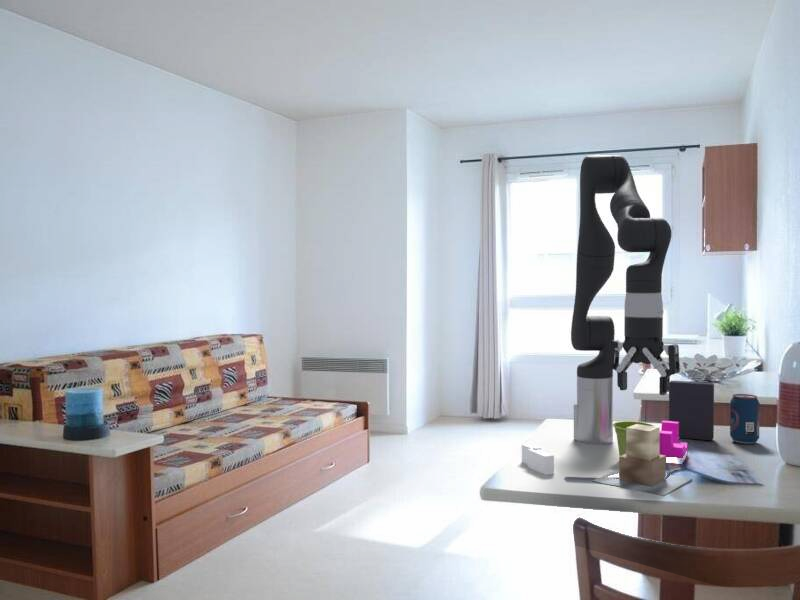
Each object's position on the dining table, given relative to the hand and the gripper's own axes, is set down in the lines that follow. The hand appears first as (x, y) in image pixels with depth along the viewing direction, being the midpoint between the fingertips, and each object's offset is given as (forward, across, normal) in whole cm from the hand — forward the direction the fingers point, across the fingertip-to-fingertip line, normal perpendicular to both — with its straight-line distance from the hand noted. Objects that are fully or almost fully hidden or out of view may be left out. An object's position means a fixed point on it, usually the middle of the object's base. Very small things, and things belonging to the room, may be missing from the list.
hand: (643, 392), depth 146 cm
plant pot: (+20, -9, +16) cm, 27 cm away
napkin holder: (+20, -22, -5) cm, 30 cm away
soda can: (+20, +4, +55) cm, 58 cm away
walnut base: (+19, 0, 0) cm, 19 cm away
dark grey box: (+20, -8, +50) cm, 54 cm away
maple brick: (+13, 0, 0) cm, 13 cm away
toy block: (+20, -4, +26) cm, 33 cm away
